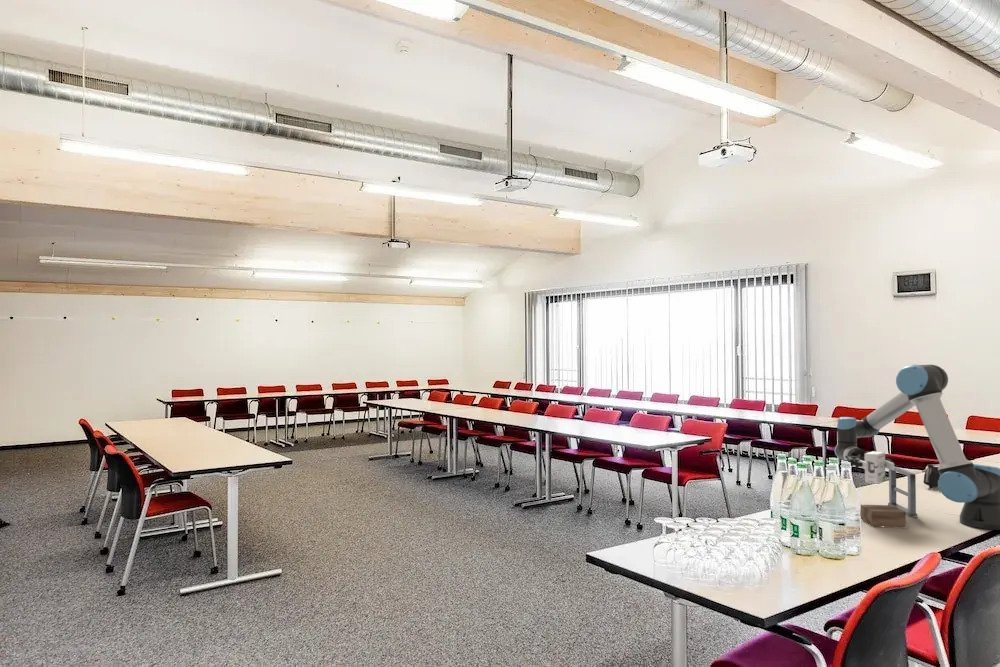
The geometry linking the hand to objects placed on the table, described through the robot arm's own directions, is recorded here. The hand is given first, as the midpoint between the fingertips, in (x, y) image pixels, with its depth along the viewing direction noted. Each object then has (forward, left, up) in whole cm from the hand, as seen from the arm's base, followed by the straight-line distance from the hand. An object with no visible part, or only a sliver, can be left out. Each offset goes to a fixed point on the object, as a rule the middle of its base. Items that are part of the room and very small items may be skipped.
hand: (880, 466), depth 250 cm
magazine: (+74, -61, -22) cm, 98 cm away
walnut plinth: (-2, 0, -22) cm, 22 cm away
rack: (+19, -17, -22) cm, 34 cm away
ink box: (+5, 0, -7) cm, 9 cm away
